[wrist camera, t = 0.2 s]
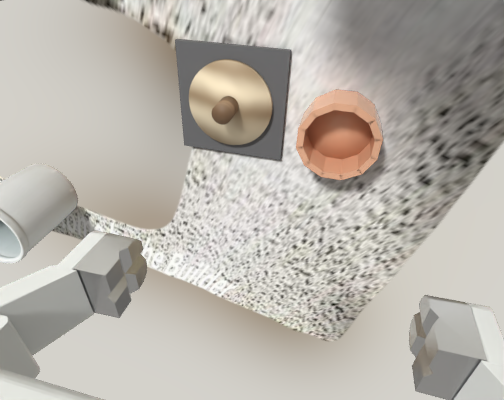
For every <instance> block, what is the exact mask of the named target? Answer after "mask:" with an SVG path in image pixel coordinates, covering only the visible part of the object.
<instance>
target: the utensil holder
mask: <svg viewBox="0 0 504 400" xmlns="http://www.w3.org/2000/svg"><path fill="white" fill-rule="evenodd" d="M77 203H78V198H77V194H76V191H75V189H74V187H73V186H72V184H71V182H70V181H69V180H68V179H67V178H66V177H65V176H64V175H63V174H62V173H61V172H59V171H58V170H57V169H55V168H53V167H51V166H48V165H45V164H39V163H38V164H32V165H30V166H28V167H26V168H24V169H22V170H21V171H19V172H17V173H15V174H14V175H12V176H10V177H8V178H6V179H5V180H3V181H1V182H0V262H3V263H16V262H19V261H20V260H22V259H23V258H24V257H25V256H26V254H27V253H28V251H30V250H31V249H32V248H33V247H34V246H35V245H36V244H38V242H40V241H41V240H42V239H43V238H44V237H45V236H46V235H47V234H48V233H50V232H51V231H52V230H53V229H54V228H55V227H56V226H57V225H59V224H60V223H61V222H62V221H63V220H64V219H65V218H66V217H67V216H68V215H69V214H70V213H71V212H72V211H73V210H74V209H75V208H76V206H77Z"/></svg>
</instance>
